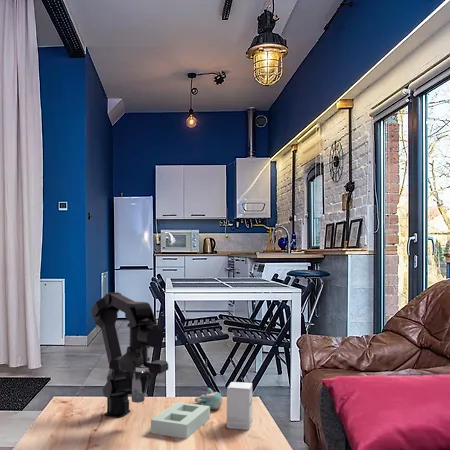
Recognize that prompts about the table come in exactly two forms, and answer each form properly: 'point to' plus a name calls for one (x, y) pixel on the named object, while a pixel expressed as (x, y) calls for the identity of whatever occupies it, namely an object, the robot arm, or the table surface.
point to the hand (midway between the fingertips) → (138, 392)
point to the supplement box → (239, 405)
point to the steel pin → (137, 386)
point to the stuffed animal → (210, 399)
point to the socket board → (180, 420)
